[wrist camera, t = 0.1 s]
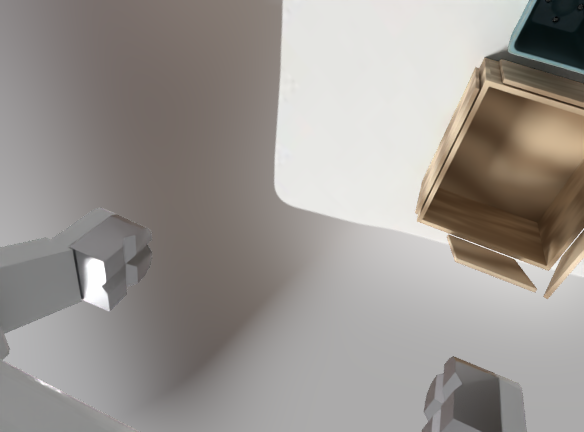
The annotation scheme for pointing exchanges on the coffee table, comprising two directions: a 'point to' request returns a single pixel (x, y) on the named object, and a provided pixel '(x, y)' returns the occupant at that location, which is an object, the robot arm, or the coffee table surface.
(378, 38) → the coffee table surface
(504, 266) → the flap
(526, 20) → the flower pot
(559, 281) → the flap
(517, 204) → the open wooden box
